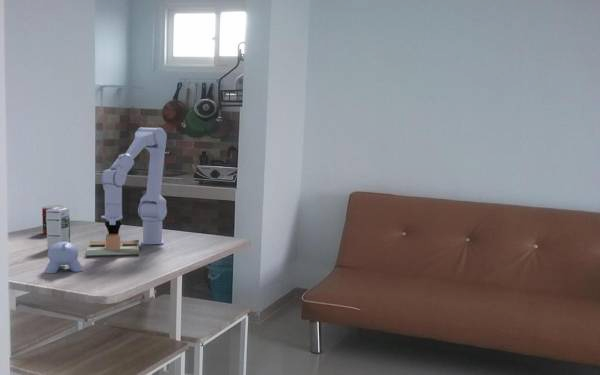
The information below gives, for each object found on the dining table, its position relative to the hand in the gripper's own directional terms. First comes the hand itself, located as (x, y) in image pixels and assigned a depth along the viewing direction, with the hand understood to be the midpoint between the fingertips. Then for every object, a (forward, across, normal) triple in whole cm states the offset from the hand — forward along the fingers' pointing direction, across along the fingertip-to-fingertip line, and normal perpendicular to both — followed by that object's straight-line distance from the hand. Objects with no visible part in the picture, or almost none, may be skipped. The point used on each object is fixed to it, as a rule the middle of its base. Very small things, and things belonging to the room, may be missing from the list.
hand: (113, 242), depth 212 cm
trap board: (+4, -2, 0) cm, 5 cm away
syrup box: (+4, -11, -20) cm, 23 cm away
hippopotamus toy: (+4, +21, -14) cm, 26 cm away
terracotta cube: (+1, +4, 0) cm, 4 cm away
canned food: (+4, -42, -26) cm, 49 cm away
